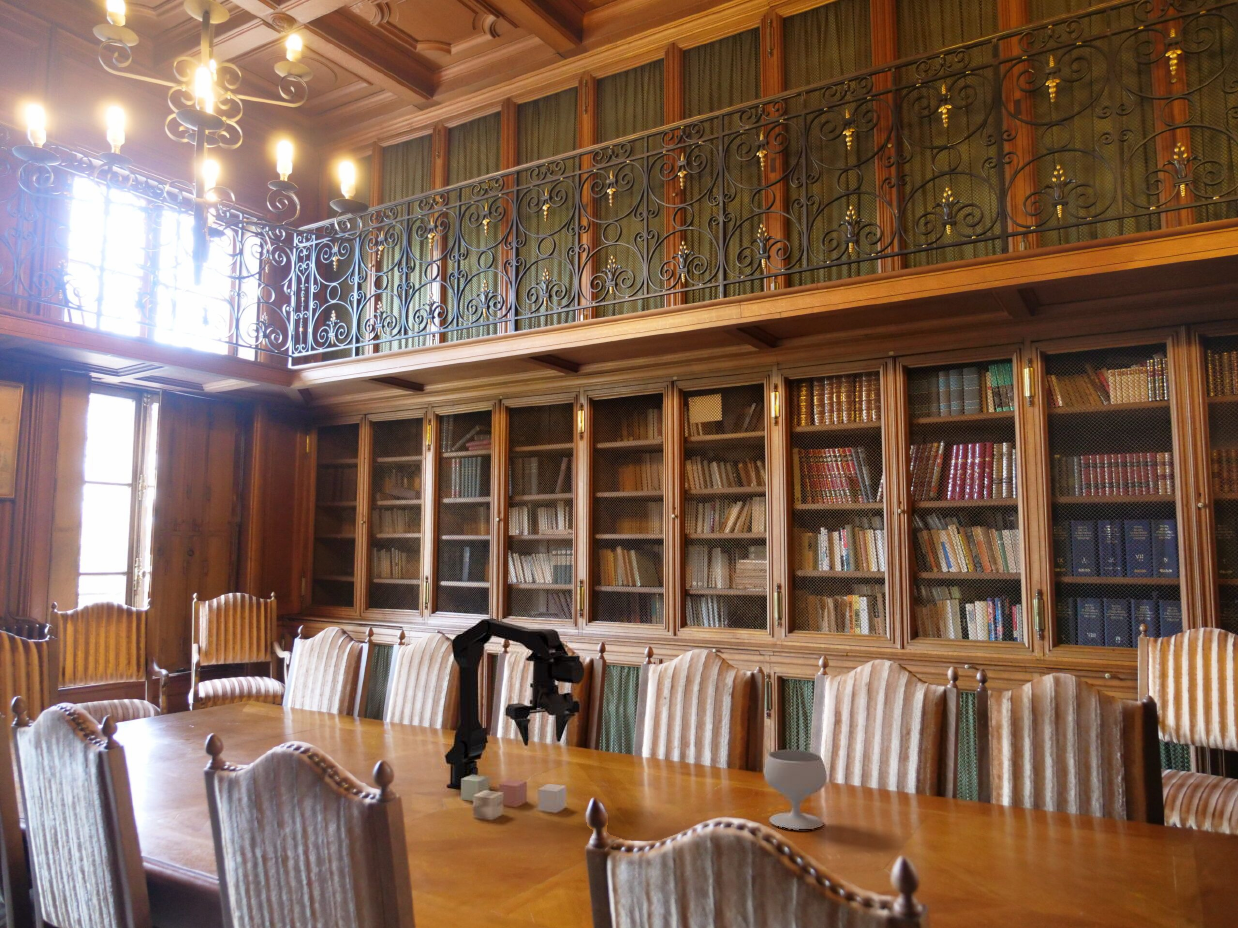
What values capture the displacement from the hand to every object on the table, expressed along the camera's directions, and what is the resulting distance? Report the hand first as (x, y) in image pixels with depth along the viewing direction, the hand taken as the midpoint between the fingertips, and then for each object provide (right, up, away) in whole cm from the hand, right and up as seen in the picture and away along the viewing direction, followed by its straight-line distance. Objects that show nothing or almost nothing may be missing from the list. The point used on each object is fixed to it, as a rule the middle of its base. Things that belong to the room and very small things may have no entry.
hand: (542, 743), depth 210 cm
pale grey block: (+3, -13, -9) cm, 16 cm away
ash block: (-11, -12, -14) cm, 22 cm away
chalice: (+60, -12, -20) cm, 64 cm away
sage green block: (-17, -14, 0) cm, 22 cm away
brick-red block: (-7, -13, -4) cm, 16 cm away
